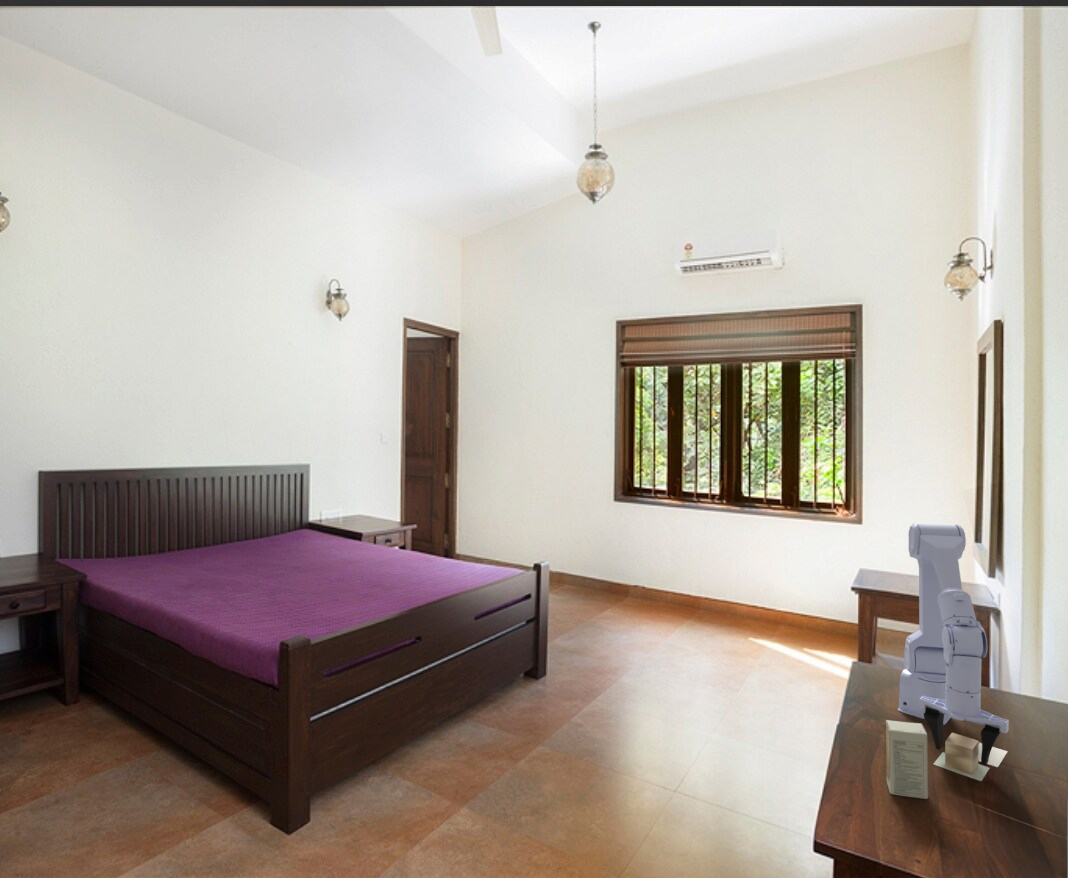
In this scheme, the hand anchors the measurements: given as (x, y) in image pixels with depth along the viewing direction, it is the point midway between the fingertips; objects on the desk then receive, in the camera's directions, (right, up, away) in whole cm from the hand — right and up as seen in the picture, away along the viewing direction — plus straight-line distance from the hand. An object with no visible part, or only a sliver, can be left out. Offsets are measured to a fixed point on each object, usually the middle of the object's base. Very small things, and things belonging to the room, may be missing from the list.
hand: (961, 754), depth 128 cm
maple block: (0, -2, 0) cm, 2 cm away
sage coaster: (0, -3, 0) cm, 2 cm away
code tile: (+7, -2, +5) cm, 9 cm away
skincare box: (-15, -4, -7) cm, 17 cm away
